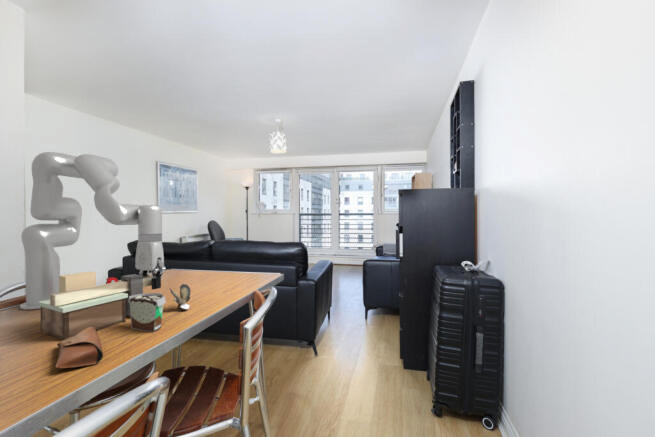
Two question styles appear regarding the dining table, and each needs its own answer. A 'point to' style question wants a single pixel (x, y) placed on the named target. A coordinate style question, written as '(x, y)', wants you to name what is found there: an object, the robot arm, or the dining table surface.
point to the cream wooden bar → (93, 292)
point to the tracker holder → (111, 280)
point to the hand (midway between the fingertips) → (150, 287)
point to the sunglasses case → (80, 350)
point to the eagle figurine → (182, 297)
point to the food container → (146, 311)
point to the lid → (80, 282)
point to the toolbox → (90, 314)
